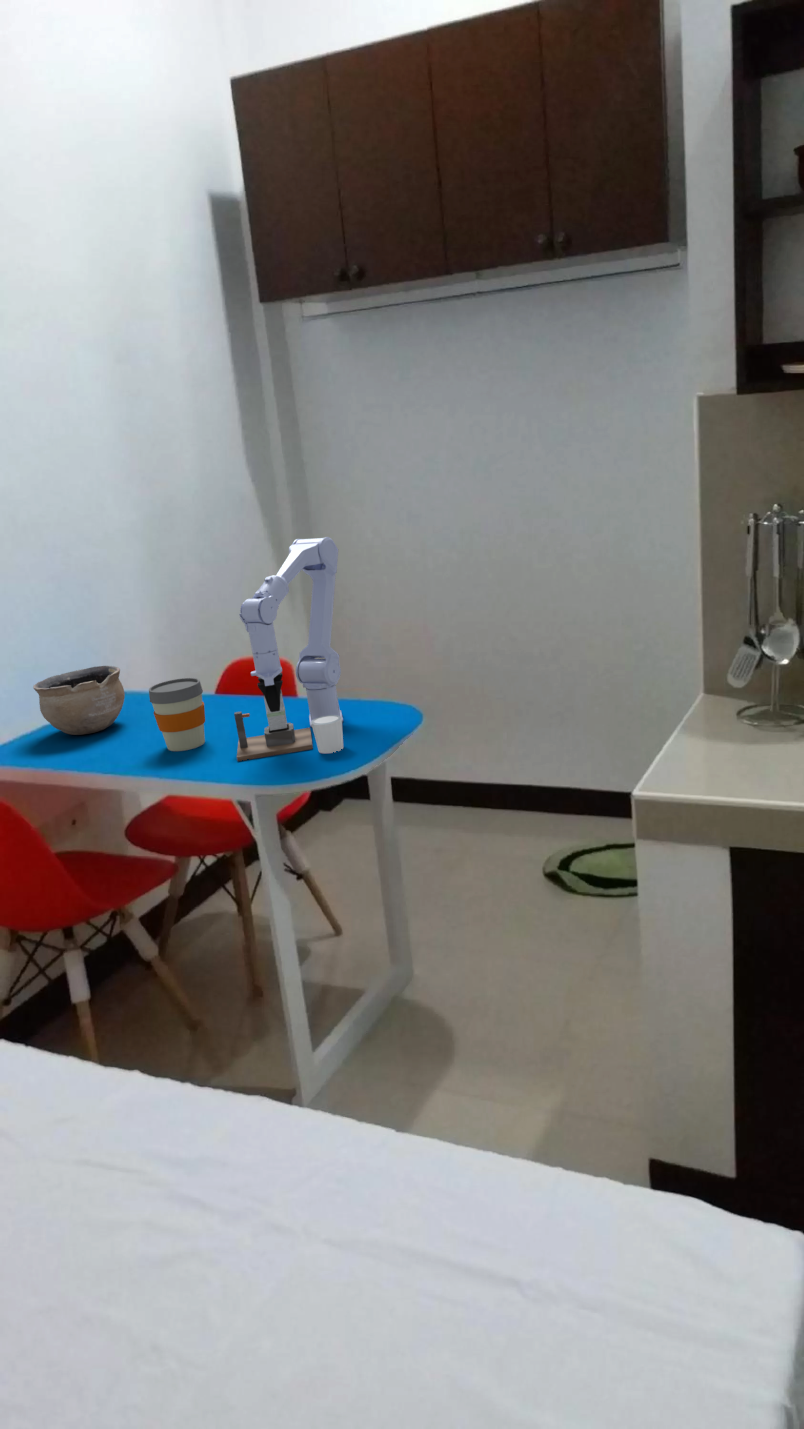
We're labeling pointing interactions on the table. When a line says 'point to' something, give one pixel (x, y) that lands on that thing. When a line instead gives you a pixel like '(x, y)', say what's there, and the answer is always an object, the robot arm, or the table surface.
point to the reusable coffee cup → (179, 712)
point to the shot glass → (328, 733)
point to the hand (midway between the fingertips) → (275, 708)
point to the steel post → (276, 716)
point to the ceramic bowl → (82, 699)
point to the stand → (271, 740)
